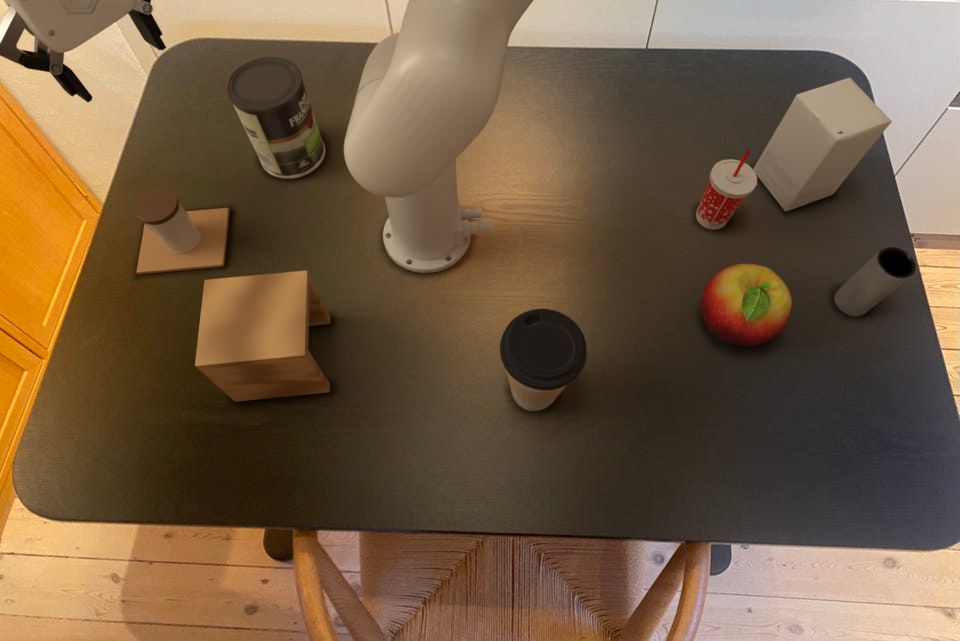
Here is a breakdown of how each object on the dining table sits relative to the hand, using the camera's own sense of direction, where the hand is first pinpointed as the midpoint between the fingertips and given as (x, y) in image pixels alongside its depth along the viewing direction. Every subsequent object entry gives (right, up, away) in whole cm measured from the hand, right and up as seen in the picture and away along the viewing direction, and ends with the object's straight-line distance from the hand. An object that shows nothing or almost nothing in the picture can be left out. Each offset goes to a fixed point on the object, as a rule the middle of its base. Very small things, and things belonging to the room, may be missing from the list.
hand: (120, 69), depth 66 cm
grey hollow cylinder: (+90, -25, +17) cm, 95 cm away
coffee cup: (+46, -36, +12) cm, 60 cm away
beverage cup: (+73, -12, +24) cm, 78 cm away
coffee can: (+10, -1, +30) cm, 31 cm away
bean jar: (-4, -16, +22) cm, 27 cm away
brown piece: (+13, -32, +14) cm, 37 cm away
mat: (-4, -16, +22) cm, 27 cm away
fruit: (+73, -27, +16) cm, 80 cm away
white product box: (+87, -6, +27) cm, 91 cm away
